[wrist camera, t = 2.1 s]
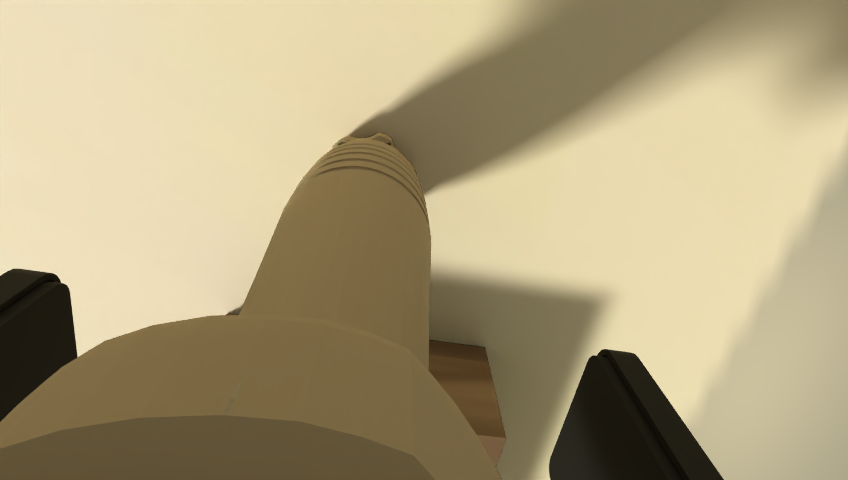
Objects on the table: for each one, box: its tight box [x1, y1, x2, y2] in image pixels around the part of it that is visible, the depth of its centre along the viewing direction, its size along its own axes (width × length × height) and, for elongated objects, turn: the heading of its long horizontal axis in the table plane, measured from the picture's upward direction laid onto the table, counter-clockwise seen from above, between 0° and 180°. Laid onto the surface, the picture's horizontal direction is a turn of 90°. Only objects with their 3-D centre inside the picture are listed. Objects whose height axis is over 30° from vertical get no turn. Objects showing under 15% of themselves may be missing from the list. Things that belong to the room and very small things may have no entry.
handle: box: [0, 133, 502, 480], centre depth 11 cm, size 5×6×15 cm
